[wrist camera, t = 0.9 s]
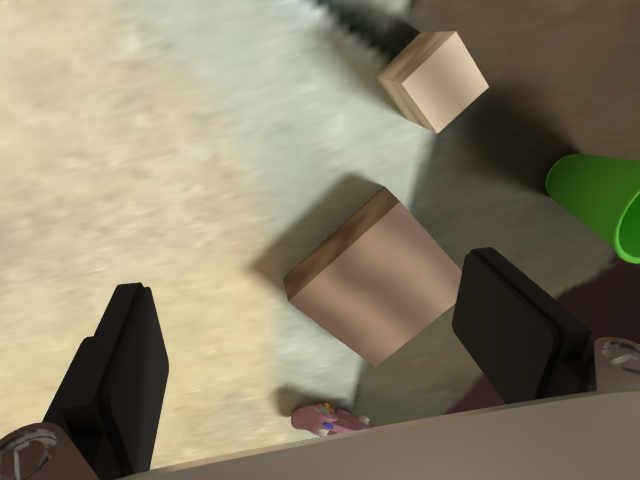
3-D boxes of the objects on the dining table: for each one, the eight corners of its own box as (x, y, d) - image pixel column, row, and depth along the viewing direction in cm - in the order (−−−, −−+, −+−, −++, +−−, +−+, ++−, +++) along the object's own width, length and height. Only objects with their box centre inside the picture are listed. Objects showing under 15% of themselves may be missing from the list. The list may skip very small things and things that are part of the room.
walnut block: (384, 186, 38) (400, 201, 35) (456, 267, 45) (475, 286, 41) (283, 278, 41) (288, 301, 37) (364, 343, 47) (375, 367, 44)
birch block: (420, 32, 33) (456, 31, 27) (450, 79, 35) (488, 86, 30) (375, 76, 34) (401, 83, 28) (407, 119, 36) (437, 133, 31)
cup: (514, 211, 43) (596, 261, 33) (549, 127, 39) (653, 156, 29) (579, 218, 45) (673, 267, 36) (619, 140, 41) (736, 171, 32)
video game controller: (359, 404, 55) (387, 428, 48) (347, 436, 54) (374, 465, 48) (299, 386, 51) (321, 410, 44) (285, 421, 50) (305, 450, 44)
